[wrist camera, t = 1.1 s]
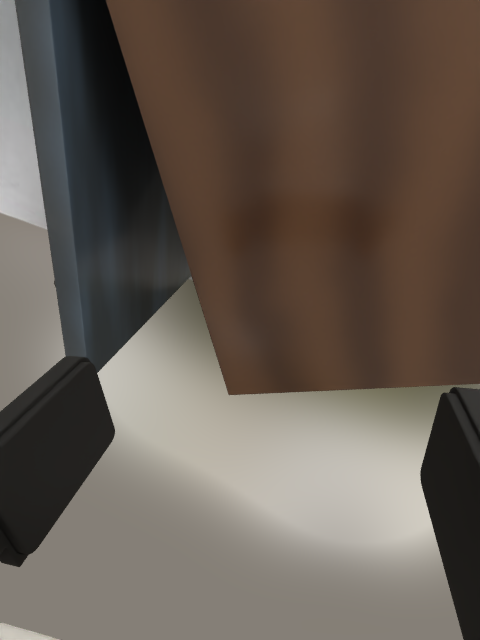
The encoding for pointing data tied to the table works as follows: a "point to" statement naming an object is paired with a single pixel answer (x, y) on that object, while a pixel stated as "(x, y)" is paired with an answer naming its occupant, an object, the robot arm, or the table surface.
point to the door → (96, 179)
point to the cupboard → (320, 182)
